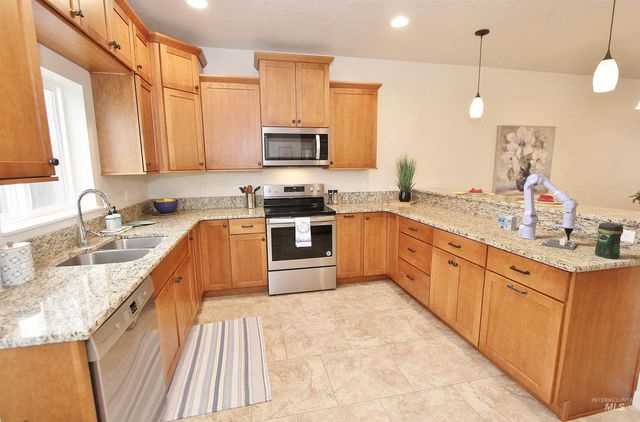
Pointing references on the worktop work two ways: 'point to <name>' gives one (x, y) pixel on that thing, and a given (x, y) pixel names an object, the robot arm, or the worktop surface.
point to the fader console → (557, 244)
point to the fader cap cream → (562, 241)
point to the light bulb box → (507, 222)
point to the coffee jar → (609, 240)
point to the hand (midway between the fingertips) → (567, 240)
